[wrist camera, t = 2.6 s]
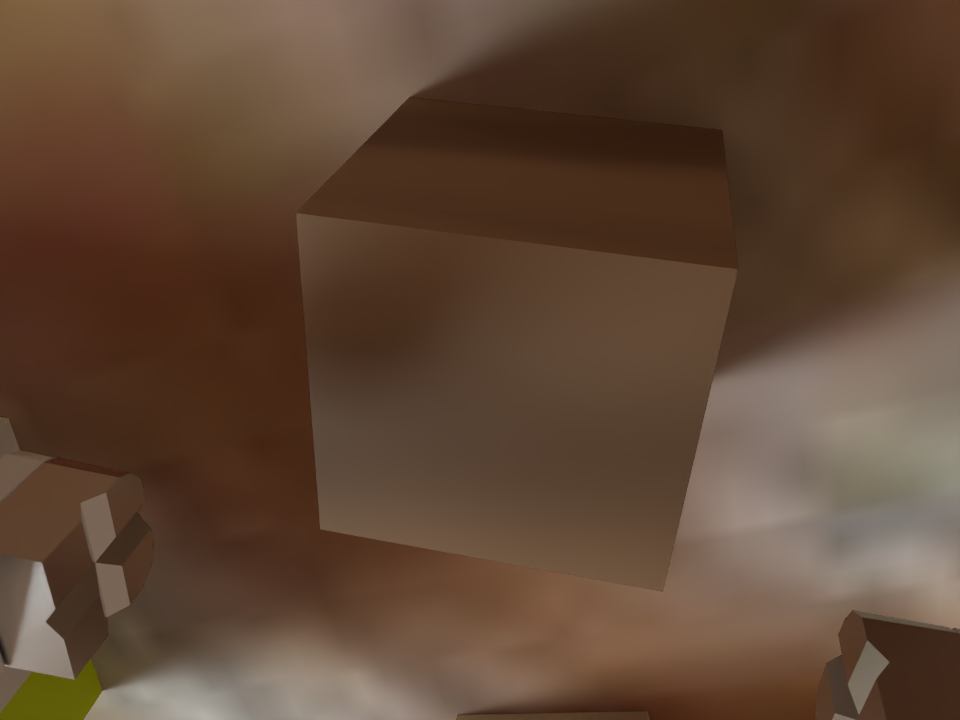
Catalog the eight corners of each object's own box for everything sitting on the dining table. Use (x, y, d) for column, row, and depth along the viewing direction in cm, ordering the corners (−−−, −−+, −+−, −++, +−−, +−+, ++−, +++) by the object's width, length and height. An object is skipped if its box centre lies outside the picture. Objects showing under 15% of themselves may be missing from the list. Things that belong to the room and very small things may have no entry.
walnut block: (410, 95, 14) (295, 212, 10) (722, 128, 13) (738, 268, 9) (410, 352, 17) (320, 529, 13) (669, 391, 16) (662, 591, 12)
